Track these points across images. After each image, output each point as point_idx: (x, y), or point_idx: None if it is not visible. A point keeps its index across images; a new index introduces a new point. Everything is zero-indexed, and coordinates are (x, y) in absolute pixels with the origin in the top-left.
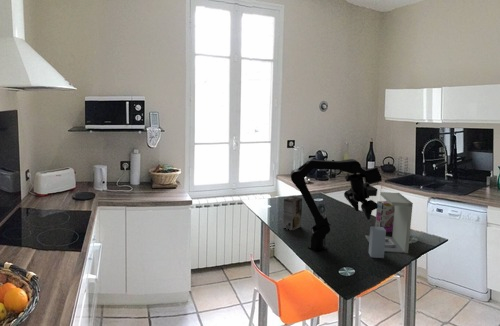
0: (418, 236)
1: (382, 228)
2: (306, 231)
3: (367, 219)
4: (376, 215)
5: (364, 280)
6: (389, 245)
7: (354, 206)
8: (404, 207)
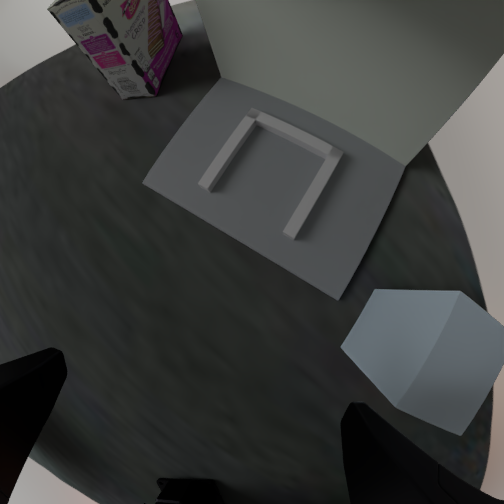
0: None
1: (480, 328)
2: None
3: (345, 429)
4: (89, 56)
5: (469, 480)
6: (329, 176)
7: (24, 441)
8: None
